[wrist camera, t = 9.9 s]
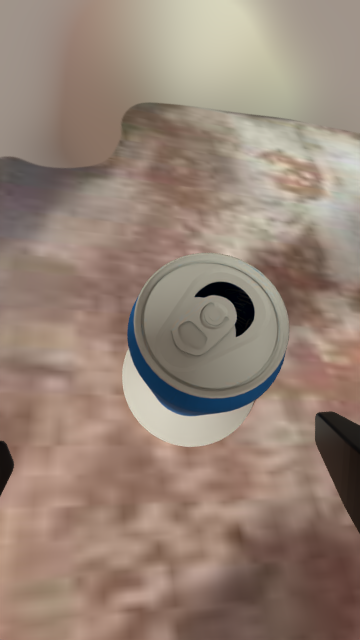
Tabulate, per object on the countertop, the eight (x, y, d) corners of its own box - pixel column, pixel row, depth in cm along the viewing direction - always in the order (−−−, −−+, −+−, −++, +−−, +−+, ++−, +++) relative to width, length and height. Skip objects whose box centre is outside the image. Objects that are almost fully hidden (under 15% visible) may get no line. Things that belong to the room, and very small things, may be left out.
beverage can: (245, 376, 20) (337, 323, 9) (187, 435, 18) (212, 461, 7) (191, 321, 22) (211, 218, 11) (133, 370, 20) (84, 310, 9)
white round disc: (271, 433, 19) (274, 433, 18) (128, 457, 18) (126, 458, 18) (238, 305, 23) (240, 303, 23) (120, 320, 22) (118, 317, 22)
